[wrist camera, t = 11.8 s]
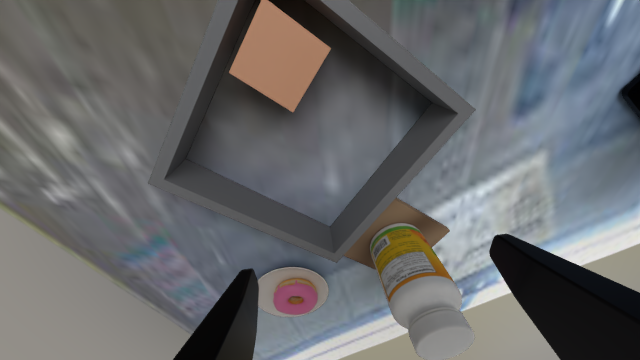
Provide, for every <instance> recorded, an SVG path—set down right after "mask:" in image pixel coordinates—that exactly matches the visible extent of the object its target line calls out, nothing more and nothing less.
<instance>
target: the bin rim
mask: <svg viewBox="0 0 640 360" xmlns="http://www.w3.org/2000/svg"><path fill="white" fill-rule="evenodd" d="M254 1H255V0H218V2H217V4H216V7H215V9H214V12H213V15H212V17H211V20H210V22H209V25H208V28H207V30H206V33H205V36H204V38H203V41H202V43H201V46H200V49H199V51H198V54H197V56H196V59H195V62H194V64H193V67H192V69H191V72H190V75H189V77H188V80H187V83H186V85H185V88H184V90H183V93H182V96H181V98H180V101H179V103H178V106H177V109H176V111H175V114H174V116H173V119H172V122H171V124H170V127H169V130H168V132H167V135H166V137H165V140H164V143H163V145H162V148H161V150H160V153H159V156H158V158H157V161H156V163H155V166H154V169H153V171H152V174H151V177H150V179H149V182H148V184H151V185H153V186H155V187H158V188H160V189H162V190H165V191H167V192H170V193H172V194H174V195H177V196H179V197H181V198H184V199H186V200H189V201H191V202H193V203H196V204H198V205H200V206H203V207H205V208H208V209H210V210H212V211H215V212H217V213H219V214H222V215H224V216H227V217H229V218H231V219H234V220H236V221H238V222H241V223H243V224H246V225H248V226H250V227H253V228H255V229H257V230H260V231H262V232H265V233H267V234H269V235H272V236H274V237H276V238H279V239H281V240H284V241H286V242H288V243H291V244H293V245H295V246H298V247H300V248H303V249H305V250H307V251H310V252H312V253H315V254H317V255H319V256H322V257H324V258H326V259H329V260H331V261H334V262H336V263H337V262H338V261H339V260H340V259H341V258H342V257H343V255H344V254H345V253H346V252H347V251H348V250H349V249H350V248H351V247H352V245H353V244H354V243H355V242H356V241H357V240H358V239H359V238H360V237H361V236H362V234H363V233H364V232H365V231H366V230H367V229H368V228H369V227H370V226H371V225H372V223H373V222H374V221H375V220H376V219H377V218H378V217H379V216H380V215H381V214H382V212H383V211H384V210H385V209H386V208H387V207H388V206H389V205H390V204H391V203H392V201H393V200H394V199H395V198H396V197H397V196H398V195H399V194H400V193H401V192H402V190H403V189H404V188H405V187H406V186H407V185H408V184H409V183H410V182H411V181H412V179H413V178H414V177H415V176H416V175H417V174H418V173H419V172H420V171H421V170H422V168H423V167H424V166H425V165H426V164H427V163H428V162H429V161H430V160H431V159H432V157H433V156H434V155H435V154H436V153H437V152H438V151H439V150H440V149H441V148H442V146H443V145H444V144H445V143H446V142H447V141H448V140H449V139H450V138H451V137H452V135H453V134H454V133H455V132H456V131H457V130H458V129H459V128H460V127H461V126H462V124H463V123H464V122H465V121H466V120H467V119H468V118H469V117H470V116H471V115H472V113H473V112H474V111H475V110H476V109H475V108H473V107H472V106H471V105H470V104H469V103H468V102H466V101H465V100H464V99H463V98H462V97H461V96H459V95H458V94H457V93H456V92H455V91H454V90H453V89H451V88H450V87H449V86H448V85H447V84H446V83H444V82H443V81H442V80H441V79H440V78H439V77H437V76H436V75H435V74H434V73H433V72H432V71H430V70H429V69H428V68H427V67H426V66H425V65H423V64H422V63H421V62H420V61H419V60H418V59H416V58H415V57H414V56H413V55H412V54H411V53H410V52H408V51H407V50H406V49H405V48H404V47H403V46H401V45H400V44H399V43H398V42H397V41H396V40H394V39H393V38H392V37H391V36H390V35H389V34H387V33H386V32H385V31H384V30H383V29H382V28H380V27H379V26H378V25H377V24H376V23H375V22H373V21H372V20H371V19H370V18H369V17H368V16H367V15H365V14H364V13H363V12H362V11H361V10H360V9H358V8H357V7H356V6H355V5H354V4H353V3H351V2H350V1H349V0H305V1H306V2H307V3H309V4H310V5H311V6H312V7H314V8H315V9H316V10H317V11H319V12H320V13H321V14H322V15H324V16H325V17H326V18H327V19H329V20H330V21H331V22H332V23H334V24H335V25H336V26H337V27H338V28H340V29H341V30H342V31H343V32H345V33H346V34H347V35H348V36H350V37H351V38H352V39H353V40H355V41H356V42H357V43H358V44H360V45H361V46H362V47H363V48H365V49H366V50H367V51H368V52H370V53H371V54H372V55H373V56H375V57H376V58H377V59H378V60H380V61H381V62H382V63H383V64H385V65H386V66H387V67H388V68H390V69H391V70H392V71H393V72H395V73H396V74H397V75H398V76H400V77H401V78H402V79H403V80H405V81H406V82H407V83H408V84H410V85H411V86H412V87H413V88H415V89H416V90H417V91H418V92H420V93H421V94H422V95H423V96H425V97H426V98H427V99H428V100H430V101H431V102H432V104H431V105H430V106H429V107H428V108H427V110H426V111H425V112H424V113H423V114H422V116H421V117H420V118H419V119H418V121H417V122H416V123H415V124H414V125H413V127H412V128H411V129H410V130H409V132H408V133H407V134H406V135H405V136H404V138H403V139H402V140H401V141H400V142H399V144H398V145H397V146H396V147H395V149H394V150H393V151H392V152H391V153H390V155H389V156H388V157H387V158H386V160H385V161H384V162H383V163H382V164H381V166H380V167H379V168H378V169H377V170H376V172H375V173H374V174H373V175H372V177H371V178H370V179H369V180H368V181H367V183H366V184H365V185H364V186H363V187H362V189H361V190H360V191H359V192H358V194H357V195H356V196H355V197H354V198H353V200H352V201H351V202H350V203H349V205H348V206H347V207H346V208H345V209H344V211H343V212H342V213H341V214H340V215H339V217H338V218H337V219H336V220H335V222H334V223H333V224H332V225H331V226H330V227H329V226H326V225H324V224H322V223H320V222H318V221H316V220H314V219H312V218H310V217H307V216H305V215H303V214H301V213H299V212H297V211H295V210H293V209H291V208H288V207H286V206H284V205H282V204H280V203H278V202H276V201H274V200H272V199H269V198H267V197H265V196H263V195H261V194H259V193H257V192H255V191H253V190H250V189H248V188H246V187H244V186H242V185H240V184H238V183H236V182H233V181H231V180H229V179H227V178H225V177H223V176H221V175H219V174H217V173H214V172H212V171H210V170H208V169H206V168H204V167H202V166H200V165H198V164H195V163H193V162H191V161H189V160H187V159H185V158H186V156H187V154H188V152H189V149H190V147H191V145H192V142H193V140H194V138H195V136H196V133H197V131H198V129H199V126H200V124H201V122H202V120H203V117H204V115H205V113H206V110H207V108H208V106H209V104H210V101H211V99H212V97H213V94H214V92H215V90H216V88H217V85H218V83H219V81H220V78H221V76H222V74H223V72H224V69H225V67H226V65H227V62H228V60H229V58H230V56H231V53H232V51H233V49H234V46H235V44H236V42H237V39H238V37H239V35H240V33H241V30H242V28H243V26H244V23H245V21H246V19H247V17H248V14H249V12H250V10H251V7H252V5H253V3H254Z"/></svg>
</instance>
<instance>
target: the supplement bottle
mask: <svg viewBox="0 0 640 360" xmlns="http://www.w3.org/2000/svg"><path fill="white" fill-rule="evenodd" d="M370 252H371V256H372V259H373V261H374V264H375V267H376V270H377V273H378V276H379V278H380V281H381V284H382V287H383V290H384V293H385V296H386V299H387V301H388V304H389V307H390V310H391V312H392V315H393V317H394V319H395V320H396V321H397V322H398V323H399V324H400V325H401V326H403V327H405V328H407V329H408V332H409V336H410V339H411V341H412V343H413V346H414V348H415V351H416V353H417V354H418V355H419V356H420V357H421V358H423V359H426V360H444V359H449V358H452V357H454V356H457V355H459V354H461V353H463V352H464V351H466V350H467V349H468V348H469V347H470V346H471V345H472V344H473V342H474V339H475V338H474V337H475V336H474V333H473V331H472V329H471V327H470V325H469V324H468V322H467V320H466V319H465V317H464V316H463V314H462V313H461V312H460V311H459V310H460V308H461V304H462V297H461V293H460V291H459V289H458V287H457V286H456V284H455V283H454V281H453V280H452V278H451V277H450V275H449V274H448V272H447V271H446V269H445V267H444V266H443V264H442V263H441V261H440V260H439V258H438V257H437V255H436V254H435V252H434V251H433V249H432V248H431V246H430V245H429V243H428V242H427V240H426V239H425V237H424V236H423V234H422V233H421V232H420V230H419V229H417V228H416V227H415V226H413V225H410V224H406V223H396V224H392V225H389V226H386V227H384V228H383V229H381V230H380V231H379V232H377V233H376V234H375V236H374V237H373V239H372V241H371V244H370Z"/></svg>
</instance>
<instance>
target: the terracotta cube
mask: <svg viewBox="0 0 640 360" xmlns="http://www.w3.org/2000/svg"><path fill="white" fill-rule="evenodd" d="M330 49H331V48H330V47H328V46H327V45H326V44H325V43H323V42H322V41H321V40H319V39H318V38H317V37H315V36H314V35H313V34H311V33H310V32H309V31H308V30H306V29H305V28H304V27H302V26H301V25H300V24H298V23H297V22H296V21H294V20H293V19H292V18H290V17H289V16H288V15H287V14H285V13H284V12H283V11H281V10H280V9H279V8H277V7H276V6H275V5H273V4H272V3H271V2H269V1H268V0H261V2H260V4H259V7H258V9H257V11H256V13H255V15H254V18H253V20H252V22H251V24H250V27H249V29H248V31H247V33H246V35H245V38H244V40H243V42H242V44H241V47H240V49H239V51H238V53H237V55H236V58H235V60H234V62H233V64H232V67H231V69H230V71H229V73H230V74H232V75H233V76H235V77H237V78H238V79H240V80H241V81H243V82H245V83H246V84H248V85H250V86H251V87H253V88H254V89H256V90H258V91H259V92H261V93H262V94H264V95H266V96H267V97H269V98H270V99H272V100H274V101H275V102H277V103H279V104H280V105H282V106H283V107H285V108H287V109H288V110H290V111H291V112H294V110H295V108H296V107H297V105H298V103H299V102H300V100H301V98H302V97H303V95H304V93H305V92H306V90H307V88H308V87H309V85H310V83H311V81H312V80H313V78H314V76H315V75H316V73H317V71H318V70H319V68H320V66H321V65H322V63H323V61H324V60H325V58H326V56H327V54H328V53H329V51H330Z"/></svg>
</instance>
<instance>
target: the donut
mask: <svg viewBox="0 0 640 360" xmlns="http://www.w3.org/2000/svg"><path fill="white" fill-rule="evenodd" d="M258 284H259V298H258V306H259V307H260V308H261V309H262V310H264V311H265V312H267V313H270V314H272V315H276V316H280V317H297V316H302V315H306V314H309V313H311V312H313V311H315V310H317V309H318V308H319V307H321V306H322V305H323V304H324V302H325V301H326V299H327V297H328V293H329V289H328V285H327V283H326V281H325V280H324V278H323V277H322V276H320V275H319V274H318V273H316V272H314V271H312V270H309V269H305V268H300V267H285V268H279V269H276V270H272V271H270V272H268V273H266V274H265V275H263V276H262V277H261V278H260V279H259V280H258Z"/></svg>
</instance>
